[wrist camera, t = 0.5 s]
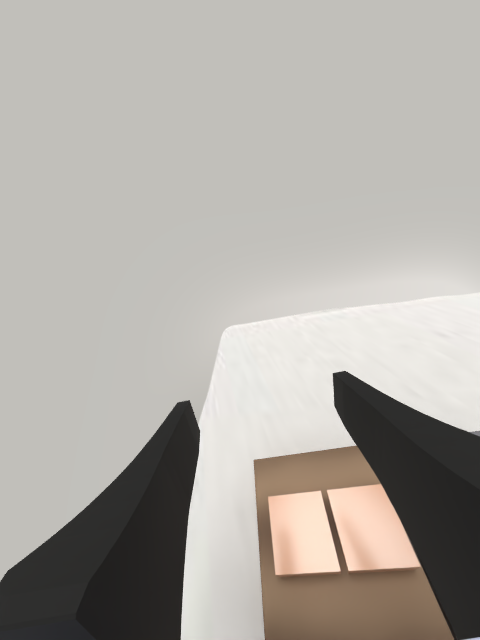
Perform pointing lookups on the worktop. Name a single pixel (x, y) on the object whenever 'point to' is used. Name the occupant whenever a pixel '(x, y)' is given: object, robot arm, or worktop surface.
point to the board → (339, 589)
